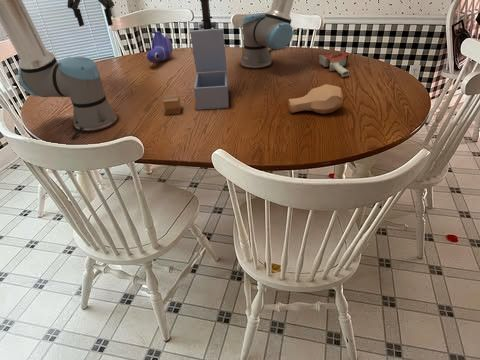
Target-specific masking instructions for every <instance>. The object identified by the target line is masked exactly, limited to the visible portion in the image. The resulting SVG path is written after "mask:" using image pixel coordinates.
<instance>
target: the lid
mask: <svg viewBox="0 0 480 360" xmlns="http://www.w3.org/2000/svg"><path fill="white" fill-rule="evenodd" d="M189 34H190V40H191V46H192V53H193V61H194V67H195V72H196V73H208V72H223V71H227V70H228V69H227V58H226V43H225V31H224V28H222V27H221V28H217V22H216V21H214V22H212V21H211V29H206V30H204V24H203V22H199V23H198V29H191V30H189ZM227 72H228V71H227Z"/></svg>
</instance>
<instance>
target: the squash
mask: <svg viewBox="0 0 480 360" xmlns="http://www.w3.org/2000/svg"><path fill="white" fill-rule="evenodd" d="M343 100H344V93H343V90H342V87H339V86H338V85H337V86H336V85H332V84H329V83H326V84H323V85H320V86H318V87H313V88H311V89H310V90H309V91H308V92H307V94H305V95H304V96H300V97H296V98H289V99H288V100H287V104H288V106H289V111H290V113H292V114H294V113H297V112H302V111H303V112H304V111H310V112H311V111H312V112H315V113H318V114H322V115H325V114H332V113H333V112H336V111H337V110H338V109H341V108H342V104H343V103H344V102H343Z"/></svg>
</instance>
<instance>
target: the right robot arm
mask: <svg viewBox="0 0 480 360" xmlns="http://www.w3.org/2000/svg"><path fill="white" fill-rule="evenodd" d="M199 2H200V6H201V7H200V8H201V15H202V19H201V23H203V24H204V29H203V30H206V29H212V28H211V22H212V21H211V20H212V19H213V16H211V10H210V9H211V8H210V0H199ZM293 4H294V0H272V4H271V7H270V9H269V10H268V11H267V12H257V13H251V14H247V15H244V16H243V17H242V24H241V25H242V37H243V50H242V54H241V59H240V66H241V67H243V68H244V69H249V70H259V69H264V68H268V67H269V66H271V65H272V57H271V54H270V52H271V51H281V50H284V49H286V47H288V46H289V44H290V43H291V41H292V39H293V35H294V31H293V26H292V25H291V23H292V17H291V15H290V14H291V10H292V8H293Z"/></svg>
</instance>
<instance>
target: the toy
mask: <svg viewBox="0 0 480 360" xmlns="http://www.w3.org/2000/svg"><path fill="white" fill-rule="evenodd" d="M150 34H154V35H153V37H152V41H151V49H149V50H148V49H147V52H146V56H145V57H146V59H147V60H148V61H149V62H150V63H151V64H152V65H153V66H154V67H155V68H157V67H156V66H157V63H159V62H164V61H166V60H167V59H169V58H170V57H171V56H172V55H173V49H174V48H173V44H172V41H171V39H170V37H169V36H168V35H167V34H165V35H164V34H163V33H162V32H161V31H159V30H157V31H156V30H152V31H151V32H150Z"/></svg>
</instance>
